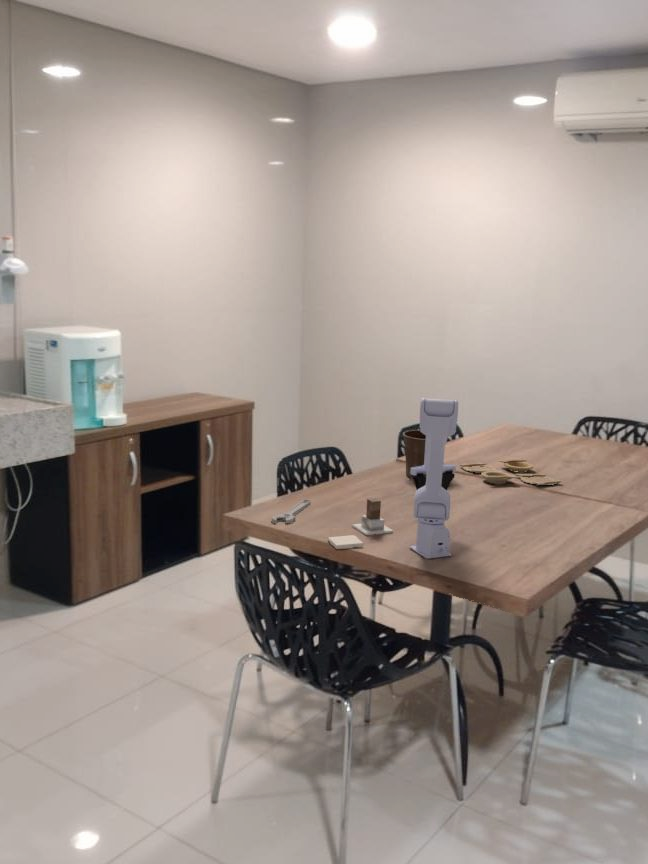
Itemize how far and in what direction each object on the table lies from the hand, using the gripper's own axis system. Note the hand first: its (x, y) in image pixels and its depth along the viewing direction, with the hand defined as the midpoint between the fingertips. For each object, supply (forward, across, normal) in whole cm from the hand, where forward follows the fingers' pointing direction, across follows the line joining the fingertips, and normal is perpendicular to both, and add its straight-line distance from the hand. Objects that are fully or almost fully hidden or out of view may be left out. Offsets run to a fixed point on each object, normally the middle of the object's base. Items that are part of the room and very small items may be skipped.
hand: (431, 496), depth 248 cm
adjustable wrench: (+11, +32, -28) cm, 44 cm away
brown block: (+10, +16, -6) cm, 20 cm away
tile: (+10, +26, +4) cm, 28 cm away
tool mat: (+10, +16, -6) cm, 20 cm away
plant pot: (+11, -32, -57) cm, 66 cm away
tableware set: (+11, -65, -48) cm, 82 cm away
